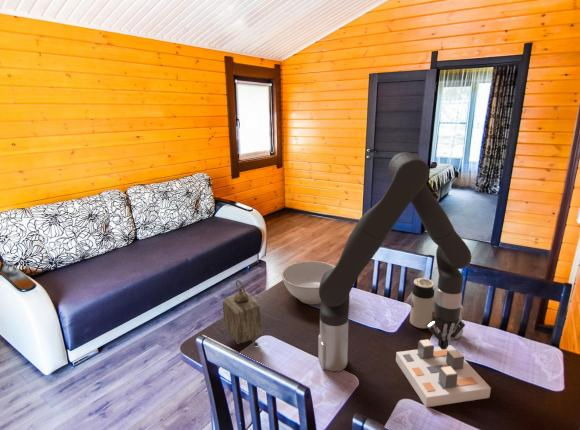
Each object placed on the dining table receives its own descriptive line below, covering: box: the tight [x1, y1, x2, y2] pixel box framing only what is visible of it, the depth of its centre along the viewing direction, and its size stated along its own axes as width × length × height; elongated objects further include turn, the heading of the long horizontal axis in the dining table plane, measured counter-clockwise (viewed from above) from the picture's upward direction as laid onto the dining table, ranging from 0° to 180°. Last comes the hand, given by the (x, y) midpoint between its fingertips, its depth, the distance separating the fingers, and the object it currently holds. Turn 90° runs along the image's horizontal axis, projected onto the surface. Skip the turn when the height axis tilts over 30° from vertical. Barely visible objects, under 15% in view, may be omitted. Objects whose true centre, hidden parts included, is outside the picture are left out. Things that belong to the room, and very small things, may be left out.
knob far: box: [417, 339, 435, 359], centre depth 118 cm, size 4×4×5 cm
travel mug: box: [409, 277, 435, 329], centre depth 140 cm, size 8×8×18 cm
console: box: [395, 344, 492, 408], centre depth 113 cm, size 20×20×4 cm
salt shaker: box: [450, 304, 465, 340], centre depth 132 cm, size 6×6×13 cm
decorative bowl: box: [281, 260, 336, 305], centre depth 162 cm, size 27×27×12 cm
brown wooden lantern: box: [222, 279, 263, 347], centre depth 130 cm, size 14×9×25 cm, turn 32°
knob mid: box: [446, 349, 465, 370], centre depth 112 cm, size 4×4×5 cm
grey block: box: [438, 366, 458, 388], centre depth 105 cm, size 4×4×5 cm
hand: (442, 347), depth 119 cm, fingers closed
